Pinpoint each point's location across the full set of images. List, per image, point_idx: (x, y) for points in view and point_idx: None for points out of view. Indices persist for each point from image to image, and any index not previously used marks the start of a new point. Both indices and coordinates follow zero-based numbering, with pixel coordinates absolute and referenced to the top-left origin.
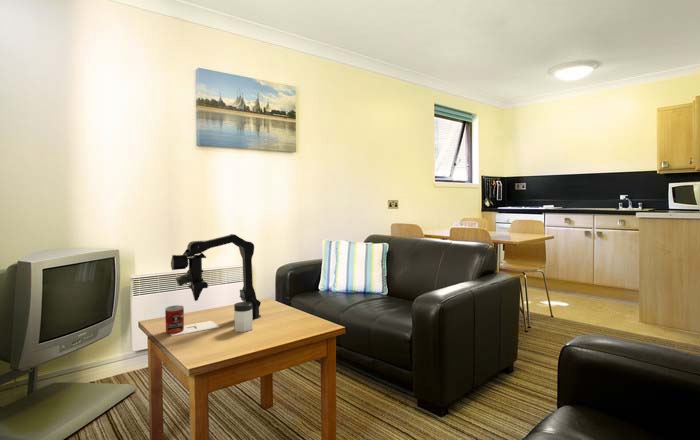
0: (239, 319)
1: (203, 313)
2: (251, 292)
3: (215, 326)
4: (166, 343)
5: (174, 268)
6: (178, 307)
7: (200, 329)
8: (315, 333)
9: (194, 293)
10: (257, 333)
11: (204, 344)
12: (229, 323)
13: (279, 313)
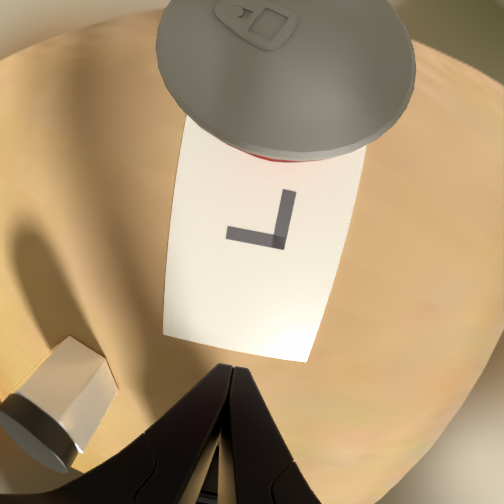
0: (32, 371)
1: (450, 373)
2: None
3: (181, 325)
4: (116, 24)
5: None
6: (297, 93)
7: (185, 240)
8: None
9: (121, 455)
10: (30, 357)
11: (8, 166)
12: None
13: None
